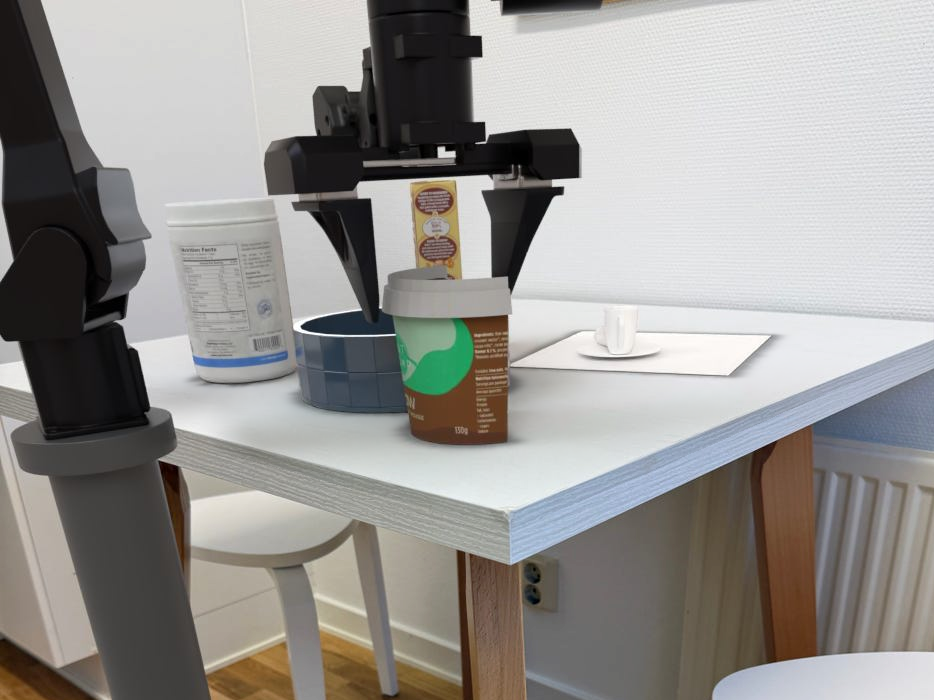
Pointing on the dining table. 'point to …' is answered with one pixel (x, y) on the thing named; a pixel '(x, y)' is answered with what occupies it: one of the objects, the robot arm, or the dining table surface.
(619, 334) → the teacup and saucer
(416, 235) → the candy box
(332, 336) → the pot
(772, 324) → the dining table surface
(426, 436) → the food container
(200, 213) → the supplement tub
